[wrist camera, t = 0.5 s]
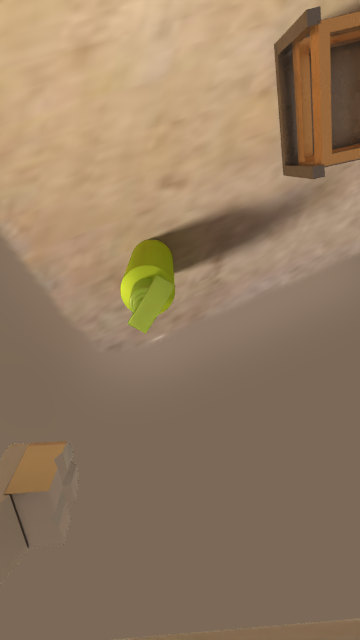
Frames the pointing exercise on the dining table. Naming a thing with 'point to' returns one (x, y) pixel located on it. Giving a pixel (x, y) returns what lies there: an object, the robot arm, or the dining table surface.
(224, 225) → the dining table surface
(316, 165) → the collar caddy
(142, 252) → the soap dispenser
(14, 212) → the dining table surface
